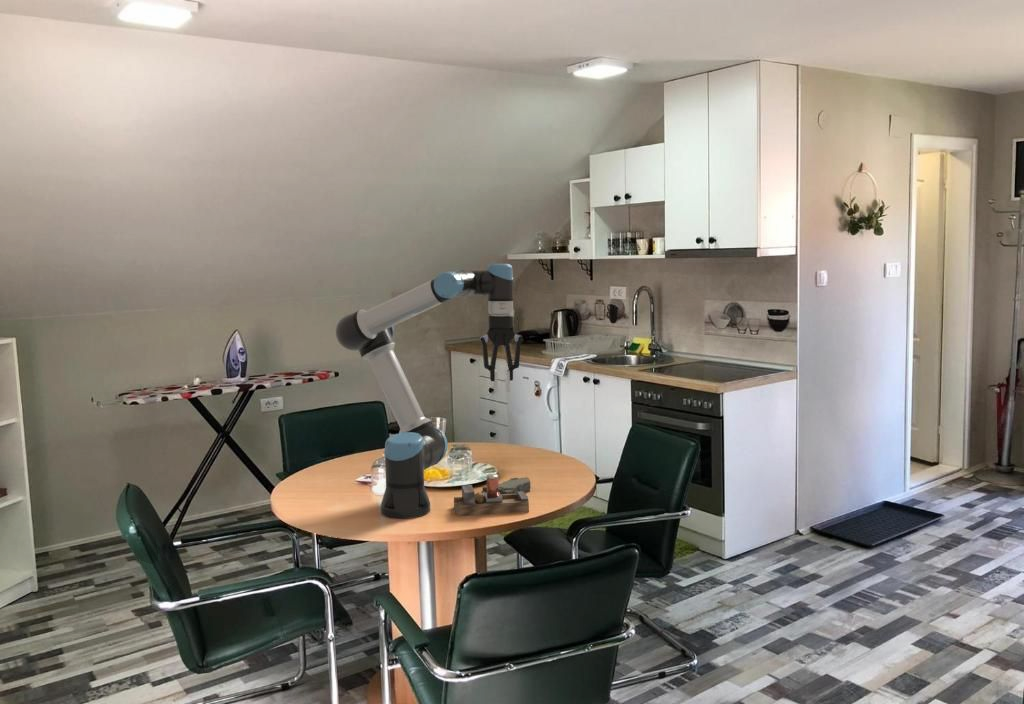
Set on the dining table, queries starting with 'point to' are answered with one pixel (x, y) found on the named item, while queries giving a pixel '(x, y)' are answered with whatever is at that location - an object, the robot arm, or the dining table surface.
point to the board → (489, 504)
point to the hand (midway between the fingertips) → (501, 391)
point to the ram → (492, 490)
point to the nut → (479, 498)
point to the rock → (513, 486)
